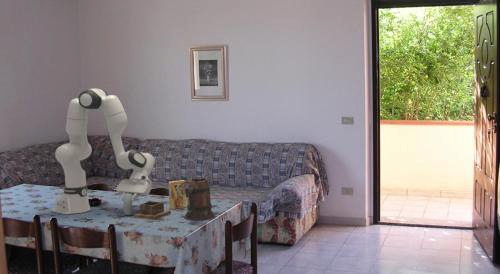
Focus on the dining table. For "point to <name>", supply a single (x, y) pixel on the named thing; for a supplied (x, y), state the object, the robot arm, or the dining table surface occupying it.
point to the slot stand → (152, 210)
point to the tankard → (199, 200)
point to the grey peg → (127, 204)
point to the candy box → (177, 194)
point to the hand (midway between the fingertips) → (127, 200)
